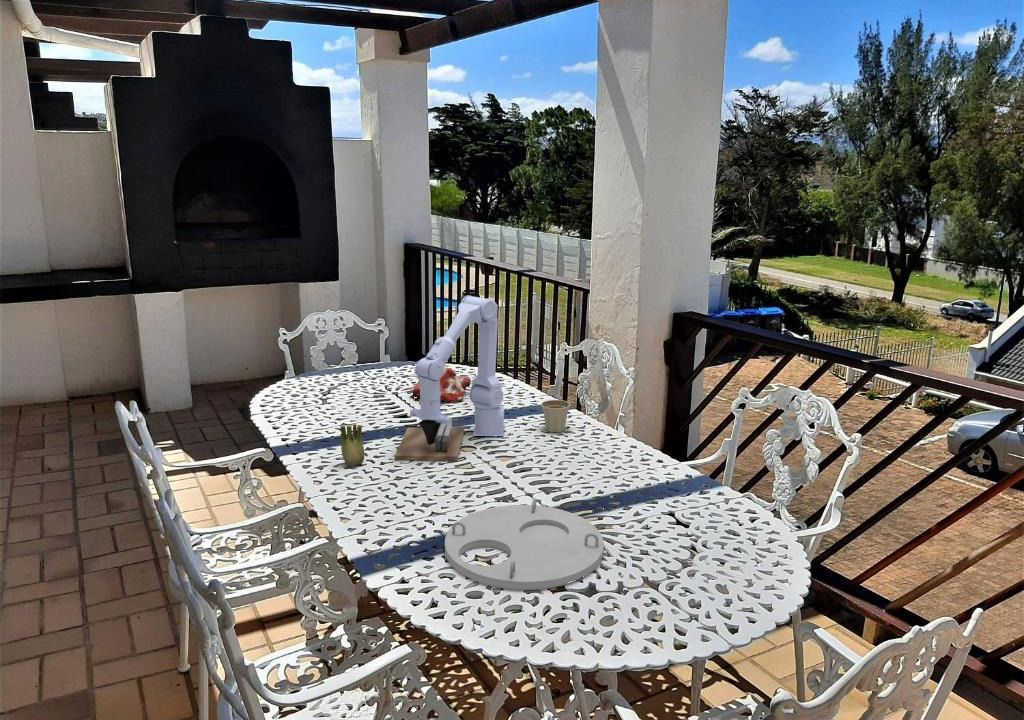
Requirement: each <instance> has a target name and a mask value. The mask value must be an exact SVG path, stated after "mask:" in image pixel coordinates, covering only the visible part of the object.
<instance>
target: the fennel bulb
mask: <svg viewBox="0 0 1024 720" xmlns="http://www.w3.org/2000/svg"><path fill="white" fill-rule="evenodd" d="M339 427H340V434H341V435H340V436H341V440H340V441H341V442H340V444H341V447H340V448H341V456H342V459H343V461H344V463H345V464H346V465H347V466H350V467H358V466H360V465H361V464H362V463H364V462H365V461H364V460H365V447H364V443H363V439H362V438H363V436H362V435H363V434H362V429H363V425H362V424H356V423H352V424H348V425H345V424H343V425H339Z"/></svg>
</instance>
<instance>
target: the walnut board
mask: <svg viewBox="0 0 1024 720" xmlns="http://www.w3.org/2000/svg"><path fill="white" fill-rule="evenodd" d="M439 429H440V427H439ZM439 429H438V431H437V434H436V437H437V435H438V432H439ZM463 435H465V428H464V427H463V428H462V427H455V428H454V427H452V436H451V439H450V443H449V447H448V451H447V452H442V448H441V451H440V452H435V443H433V444H431V445H429V444H428V443H427V440H426V436H425V433H424V431H423V429H422V427H407V428H406V431H405V432H404V434H403V437H402V439H401V441H400V443H399V445H398V447H397V450H396V451H395V454H394V461H395V460H418V461H417V462H459V457H460V453H461V449H462V445H461V443H462V444H463V440H462V439H464V436H463ZM435 440H436V438H435ZM460 448H461V449H460ZM446 460H447V461H446ZM449 460H450V461H449ZM452 460H454V461H452Z"/></svg>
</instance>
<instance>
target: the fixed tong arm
mask: <svg viewBox="0 0 1024 720" xmlns="http://www.w3.org/2000/svg"><path fill="white" fill-rule="evenodd" d="M452 428H453V425H452V424H451V425H448V426H447V427H446V430H445V434H444V436H443V439H442V452H447V451H448V447H449V443H450V439H451V436H452Z"/></svg>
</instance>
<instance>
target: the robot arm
mask: <svg viewBox="0 0 1024 720" xmlns="http://www.w3.org/2000/svg"><path fill="white" fill-rule="evenodd" d="M498 306H499V305H498V304H497V303H496V302H495V301H494V299H492V298H483V297H478V296H472V295H465V296H464V297H463V298H462V300H461V302H460V303H459V304H458V309H457V311H458V313H457V314H456V316H455V318H454V319H453V321H452V322H451V324H450V326H449V327H448V330H447V332H446V333H445V335H444V336H440V337H439V338H437V339H436V340H435V341H434V344H433V346H432V347H431V349H430V350H429V352H427V354H426V356H425V357H423V358H421V359H420V360H418V362H417V363H416V366H415V368H414V372H415V374H416V376H417V378H418V381H419V383H420V401H419V402H420V406H419V407H420V408H412V409H410V410H409V414H410V415H409V416H410V417H416V418H419V420H420V421H419V423H418V424H419V426H420V428H422V429H423V431H424V433H425V436H426V440H427V443H428V444H429V445H431V444H433V443H435V438H436V434H437V431H438V429H439V428H440V425H441V424H445V425H446V426H448V425H452V423H453V420H452V417H451V416H447V415H446V414H444V413H442V412H441V401H440V378H441V377H442V376H443V374H444V368H446V367H447V366H446V364H447V361H448V360H449V359H450V357H451V356H452V355H453V353H454V352H455V350H456V346H455V344H456V342H457V340H458V339H459V338H460V337H461V335H462V334H463V333H464V332H465V330H466V329H467V328H468V326H469V325H471V324H474V323H476V324H477V325H478V327H479V337H478V338H479V339H478V341H479V342H478V357H477V358H478V359H477V360H478V361H477V376H476V377H474V378H473V379H472V380H471V385H470V386H471V387H470V389H469V393H468V397H469V400H470V401H471V403H472V405H473V406H474V428H473V432H472V437H474V436H495V438H497V436H503V437H504V434H503V433H504V431H505V429H506V426H505V425H506V423H505V406H503V405H502V402H503V400H504V393H503V390H502V387H503V385H502V382H500V380H499V379H498V378H497V377H496V369H497V368H496V367H497V366H496V365H497V364H496V363H497V345H498V325H499V324H498V323H499V319H498ZM418 381H417V382H418Z"/></svg>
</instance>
